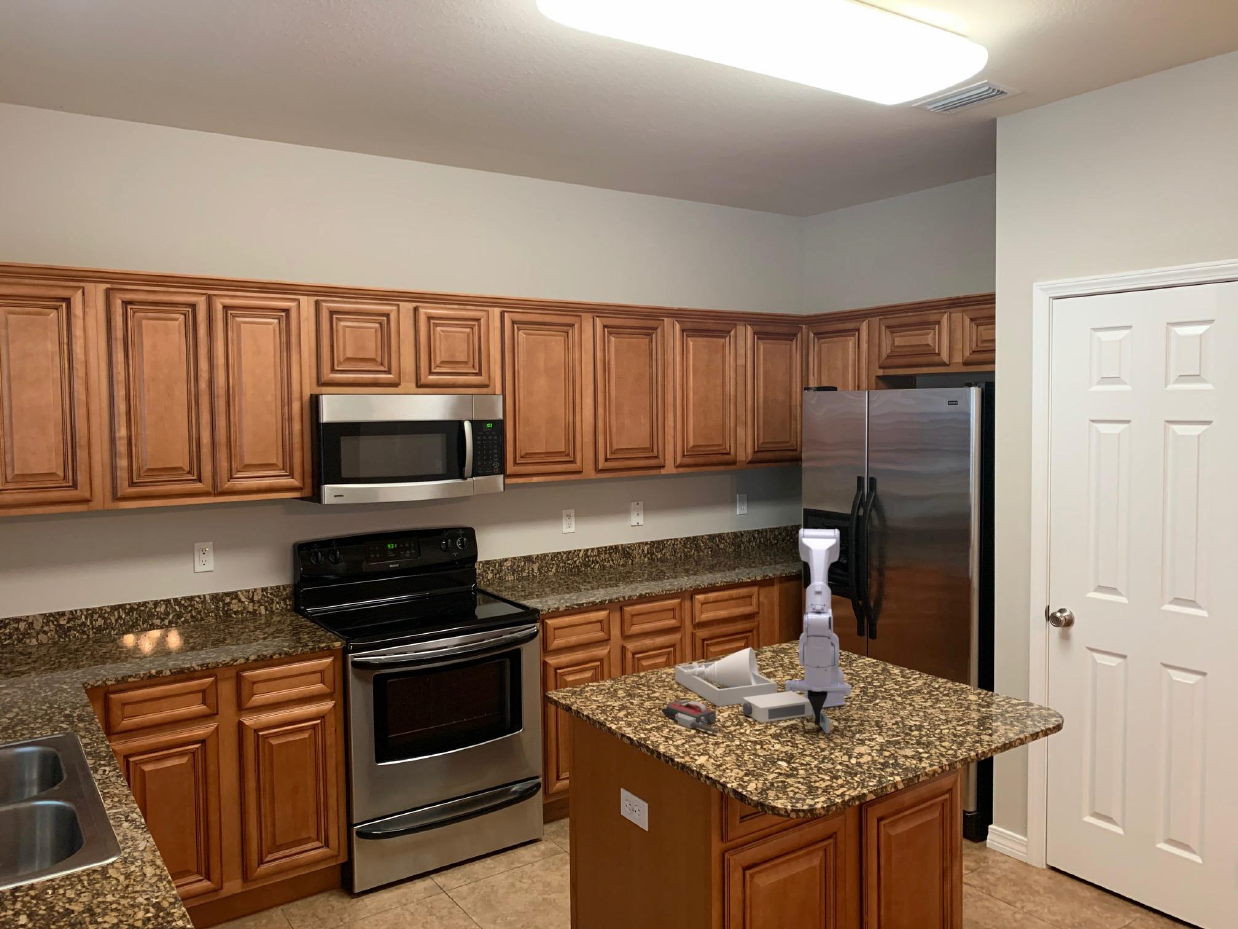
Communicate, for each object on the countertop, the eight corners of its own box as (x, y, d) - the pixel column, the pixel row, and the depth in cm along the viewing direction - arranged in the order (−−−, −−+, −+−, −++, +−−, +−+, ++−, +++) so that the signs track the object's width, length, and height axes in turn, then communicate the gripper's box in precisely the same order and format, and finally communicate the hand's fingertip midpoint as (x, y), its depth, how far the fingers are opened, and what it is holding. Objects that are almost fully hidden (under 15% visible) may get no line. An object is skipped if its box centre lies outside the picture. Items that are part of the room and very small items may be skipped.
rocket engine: (681, 645, 248) (748, 639, 243) (693, 667, 256) (758, 661, 251) (680, 685, 240) (748, 679, 235) (692, 706, 248) (758, 700, 243)
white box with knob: (791, 704, 233) (791, 691, 233) (811, 715, 224) (812, 701, 224) (738, 712, 227) (738, 698, 227) (757, 723, 219) (757, 708, 219)
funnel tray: (730, 674, 261) (730, 660, 261) (777, 698, 238) (777, 683, 238) (675, 680, 255) (675, 666, 255) (717, 706, 232) (717, 690, 232)
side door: (812, 715, 223) (812, 702, 223) (818, 714, 224) (818, 702, 223) (826, 733, 210) (826, 720, 210) (833, 733, 210) (833, 720, 210)
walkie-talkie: (654, 717, 225) (713, 739, 209) (654, 699, 225) (713, 719, 209) (681, 710, 230) (740, 730, 215) (681, 692, 230) (740, 711, 215)
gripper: (783, 666, 212) (783, 726, 212) (849, 671, 207) (849, 731, 208) (787, 659, 218) (787, 716, 219) (851, 663, 214) (851, 722, 215)
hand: (817, 723), depth 214 cm, fingers closed, pressing on side door
